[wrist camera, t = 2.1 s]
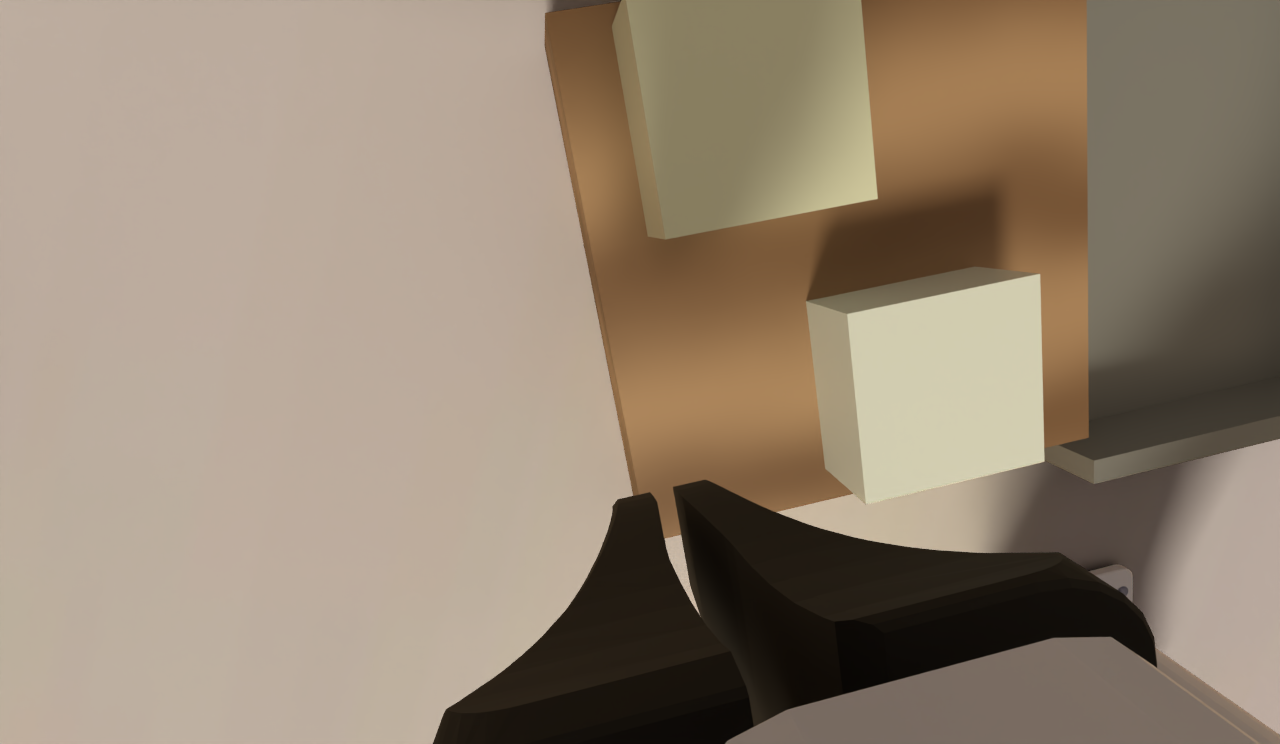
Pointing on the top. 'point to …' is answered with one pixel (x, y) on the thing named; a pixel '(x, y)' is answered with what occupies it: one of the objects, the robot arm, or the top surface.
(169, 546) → the top surface
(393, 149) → the top surface
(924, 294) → the tile
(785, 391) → the walnut board
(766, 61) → the tile
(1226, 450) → the tray
